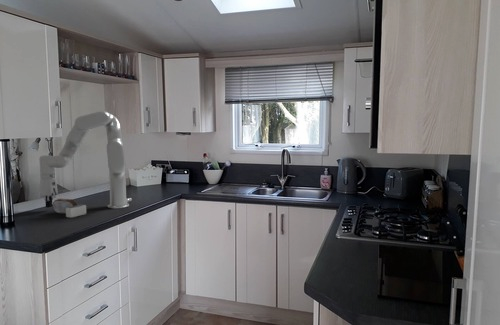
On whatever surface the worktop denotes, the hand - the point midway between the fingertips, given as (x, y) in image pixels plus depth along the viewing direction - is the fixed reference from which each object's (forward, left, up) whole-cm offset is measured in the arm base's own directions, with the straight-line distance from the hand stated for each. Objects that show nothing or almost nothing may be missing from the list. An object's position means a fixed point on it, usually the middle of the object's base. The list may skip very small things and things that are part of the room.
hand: (49, 207), depth 216 cm
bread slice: (0, +14, -3) cm, 14 cm away
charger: (0, +23, -2) cm, 23 cm away
